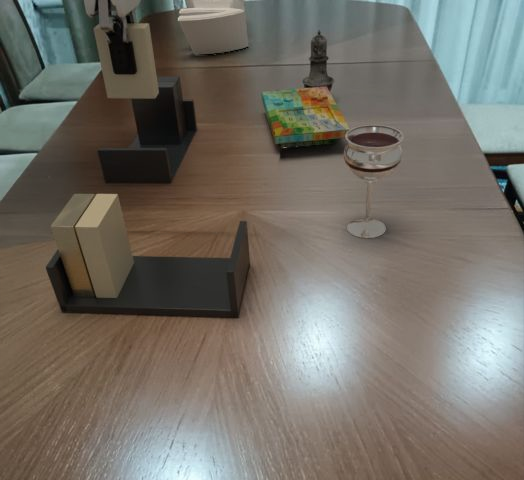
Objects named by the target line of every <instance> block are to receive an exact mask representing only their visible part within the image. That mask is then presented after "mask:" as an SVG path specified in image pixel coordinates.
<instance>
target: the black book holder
mask: <svg viewBox="0 0 524 480" xmlns="http://www.w3.org/2000/svg"><path fill="white" fill-rule="evenodd" d="M50 230H51V232H52V235H53V238H54V241H55V244H56V247H57V250H56V251H55V252H54V254H53V256H52V257H51V258H50V260H49V261H48V263H47V264H46V266H45V271H46V273H47V275H48V279H49V281H50V285H51V287H52V290H53V292H54V295H55V298H56V300H57V302H58V306H59V309H60V311H61V313H84V314H85V313H86V314H112V315H113V314H118V315H146V316H147V315H148V316H174V317H202V318H203V317H207V318H210V317H211V318H234V319H236V318H237V319H239V318H240V314H241V308H242V305H243V300H244V295H245V291H246V285H247V282H248V278H249V273H250V269H251V268H250V267H251V258H250V245H249V233H248V232H249V230H248V221H247V220H240V221H239V224H238V227H237V231H236V235H235V237H234V243H233V245H232V248H231V253H230V256H229V257H200V256H199V257H197V256H151V255H150V256H149V255H147V256H146V255H145V256H144V255H133V253H132V249H131V248H132V247H131V244H130V240H129V236H128V232H127V228H126V223H125V219H124V215H123V211H122V206H121V203H120V197H119V194H118V193H96V194H95V193H73V195H72V196H71V197H70V199H69V201H68V202H67V203H66V204H65V205H64V207H63V208H62V210H61V211H60V213H59V214H58V215H57V217H56V218H55V219H54V221H53V222H52V224H51V225H50Z"/></svg>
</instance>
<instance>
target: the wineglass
mask: <svg viewBox="0 0 524 480" xmlns="http://www.w3.org/2000/svg"><path fill="white" fill-rule="evenodd" d="M345 137H346V138H345V139H346V142H347V143H346V144H345V146H344V150H343V160H344V162H345V165H346V167H347V168H346V169H348V170H349V172H351V174H353V175H354V176H355V177H356V178H358V179H360V180H363V181H364V183H366V195H365V196H366V199H365V217H361V218H355V219H353V220H351V221H350V222H349V223H348V224H347V226H346V230H347V232H348V233H349V234H350V235H352V236H353V237H356V238H362V239H375V238H378V237H380V236H382V235H384V234H385V232H386V230H387V228H386V225H385V224H384V223H383V222H382V221H380V220H378V219H375V218H370V213H371V204H372V198H373V189H374V184H375V183H376V182H377V181H381V180H383V179H386V178H387V177H389V176H390V175H391V174H392V173H394V172H395V171H396V170H397V169H398V167H399V165H400V163H401V161H402V158H403V157H402V155H403V147H402V145H401V143H402V142H403V140H404V137H405V136H404V133H403V132H402V131H401V130H399V129H398V128H395V127H392V126H389V125H383V124H365V125H359V126H355V127H353V128H350V130H349V131H348V132H346V135H345Z"/></svg>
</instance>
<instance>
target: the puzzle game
mask: <svg viewBox="0 0 524 480" xmlns="http://www.w3.org/2000/svg"><path fill="white" fill-rule="evenodd" d="M260 95H261V102H262V105H263V109H264V112H265V116H266V118H267V122H268V126H269V128H270V129H269V130H270V131H271V135H272V137H273V142H274V144H275V145H277V146H280V149H282V148H283V147H294V148H299V147H298V146H305V147H311V146H310V145H316V146H322V145H321V144H327V145H335V144H336V143H338V142H339V141H340V140H341V139H346V137H345V135H346V132H348V131H349V130H350V129H351V127H350V126H349V124H348V123H347V120H346V119H345V117H344V116H343V114H342V111H341V110H340V108H339V106H338V104H337V103H336V100H335V99H334V97H333V95H332V93H331V91H330V92H329V90H328V88H327V86H325V87H313V88H304V87H303V88H302V87H301V88H293V89H292V88H291V89H280V90H268V91H261V92H260ZM296 146H297V147H296ZM283 149H284V148H283Z"/></svg>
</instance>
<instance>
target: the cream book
mask: <svg viewBox="0 0 524 480" xmlns="http://www.w3.org/2000/svg"><path fill="white" fill-rule="evenodd" d="M119 26H120V24H119ZM120 28H121V26H120ZM127 28H128V34H129V41H132V43H133V49H134V55H135V61H136V67H137V72H136V74H134V75H117V74H115V73H114V72H113V67H112V62H111V56H110V51H109V46H108V43H107V40H106V34H105V32H104V31H103V30H101V29H100V24H99V23H98V24H97V25H96V26H94V27H93V34H94V38H95V43H96V48H97V53H98V58H99V62H100V68H101V73H102V77H103V78H102V79H103V82H104V87H105V93H106V97H107V99H131V98H136V99H155V98H156V97H157V95H158V94H159V89H158V82H157V77H158V76H157V69H156V62H155V56H154V49H153V48H154V47H153V42H152V34H151V28H150V23H149V22H148V23H146V22H145V23H144V22H143V23H137V24H127Z"/></svg>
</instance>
